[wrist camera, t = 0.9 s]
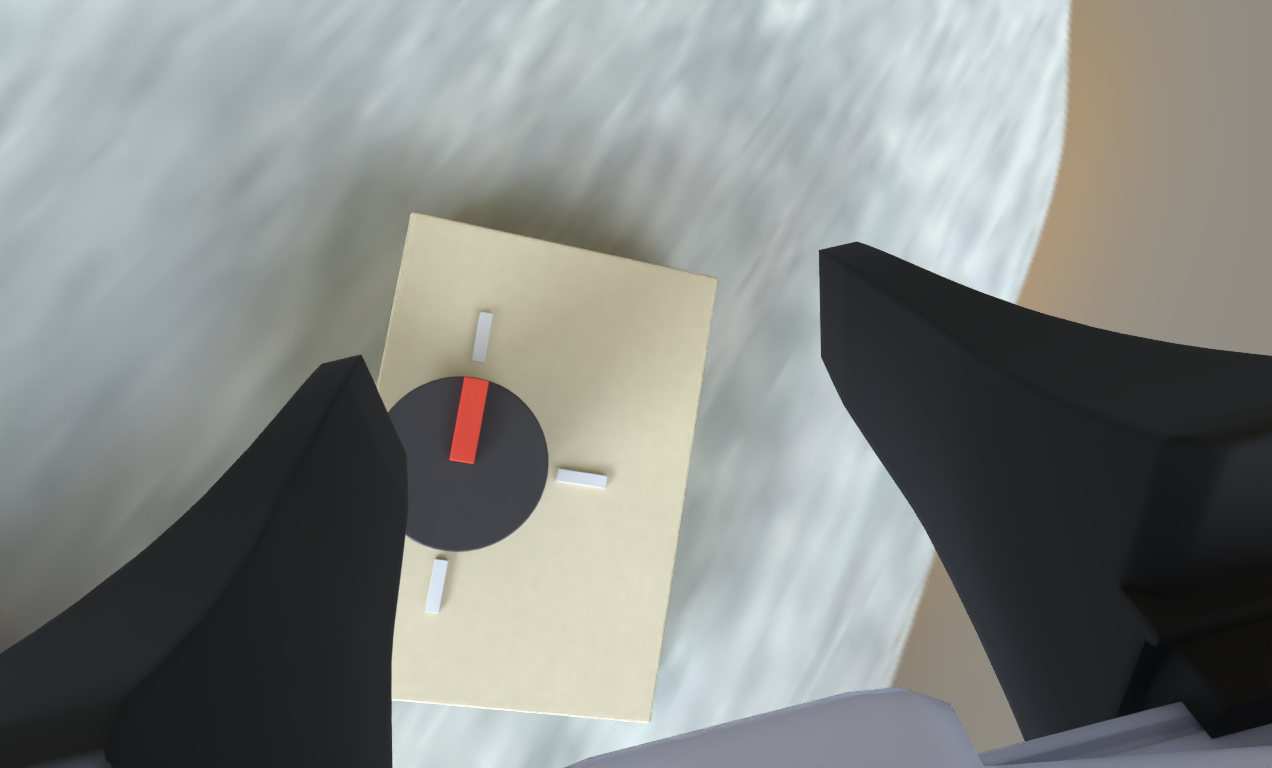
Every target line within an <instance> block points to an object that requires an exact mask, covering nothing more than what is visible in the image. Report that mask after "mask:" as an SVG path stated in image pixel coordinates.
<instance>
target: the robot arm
mask: <svg viewBox="0 0 1272 768" xmlns="http://www.w3.org/2000/svg"><path fill="white" fill-rule="evenodd" d="M819 276H820V325H821V357H822V360H823V362H824V364H825V366H826V369H827V371H828V373H829V375H830V377H831V380H832V382H833V384H834V386H835V388H836V390H837V392H838V394H839V396H840V398H841V400H842V402H843V404H844V406H845V408H846V409H847V411H848V412H849V414H850V416H851V417H852V419H853V420H854V422H855V423H856V425H857V426H858V428H859V429H860V431H861V432H862V434H863V435H864V437H865V438H866V440H867V441H868V443H869V444H870V446H871V447H872V449H873V450H874V452H875V453H876V455H877V456H878V458H879V459H880V461H881V462H882V464H883V465H884V467H885V468H886V470H887V471H888V473H889V474H890V476H891V477H892V479H893V480H894V481H895V483H896V484H897V486H898V487H899V489H900V490H901V492H902V493H903V495H904V496H905V498H906V499H907V501H908V502H909V504H910V505H911V507H912V508H913V510H914V512H915V513H916V515H917V517H918V518H919V520H920V522H921V523H922V525H923V527H924V528H925V530H926V532H927V534H928V536H929V538H930V540H931V542H932V544H933V545H934V547H935V549H936V551H937V553H938V555H939V557H940V559H941V561H942V563H943V565H944V567H945V569H946V571H947V573H948V574H949V576H950V578H951V580H952V582H953V584H954V587H955V589H956V591H957V593H958V595H959V597H960V599H961V601H962V603H963V605H964V607H965V609H966V611H967V613H968V615H969V617H970V619H971V621H972V623H973V625H974V628H975V630H976V632H977V634H978V636H979V638H980V640H981V642H982V645H983V647H984V649H985V651H986V653H987V656H988V658H989V660H990V662H991V665H992V667H993V669H994V671H995V673H996V676H997V678H998V680H999V682H1000V684H1001V686H1002V688H1003V691H1004V693H1005V695H1006V697H1007V700H1008V702H1009V704H1010V707H1011V709H1012V711H1013V714H1014V716H1015V719H1016V721H1017V723H1018V726H1019V728H1020V730H1021V733H1022V735H1023V738H1024V740H1025V742H1022V743H1018V744H1014V745H1010V746H1006V747H1003V748H998V749H995V750H991V751H987V752H983V753H979V754H977V752H976V750H975V749H974V747H973V745H972V743H971V741H970V739H969V737H968V736H967V734H966V732H965V730H964V728H963V726H962V725H961V723H960V721H959V719H958V717H957V715H956V713H955V711H954V710H953V708H952V706H951V704H949V703H947V702H943V701H940V700H938V699H935V698H932V697H929V696H926V695H923V694H920V693H917V692H914V691H911V690H908V689H904V688H901V687H895V688H885V689H875V690H865V691H855V692H847V693H843V694H839V695H835V696H831V697H827V698H823V699H819V700H815V701H811V702H807V703H803V704H799V705H795V706H791V707H787V708H783V709H780V710H776V711H772V712H768V713H764V714H760V715H756V716H752V717H748V718H744V719H740V720H736V721H732V722H728V723H724V724H720V725H716V726H712V727H708V728H704V729H700V730H697V731H693V732H689V733H685V734H681V735H677V736H673V737H669V738H665V739H661V740H657V741H653V742H649V743H645V744H641V745H637V746H633V747H629V748H625V749H621V750H617V751H613V752H610V753H606V754H602V755H598V756H594V757H590V758H587V759H585V760H582V761H580V762H577V763H575V764H572V765H570V766H568V767H565V768H1272V356H1267V355H1258V354H1249V353H1241V352H1233V351H1224V350H1216V349H1208V348H1201V347H1194V346H1188V345H1181V344H1175V343H1169V342H1163V341H1158V340H1153V339H1148V338H1142V337H1137V336H1131V335H1127V334H1120V333H1117V332H1112V331H1108V330H1103V329H1099V328H1095V327H1090V326H1087V325H1083V324H1079V323H1076V322H1072V321H1068V320H1065V319H1061V318H1057V317H1054V316H1050V315H1046V314H1043V313H1040V312H1036V311H1033V310H1030V309H1027V308H1024V307H1021V306H1018V305H1015V304H1013V303H1010V302H1007V301H1004V300H1001V299H998V298H995V297H993V296H990V295H987V294H984V293H982V292H979V291H977V290H974V289H971V288H969V287H966V286H964V285H961V284H959V283H956V282H954V281H951V280H949V279H947V278H944V277H942V276H939V275H937V274H935V273H932V272H930V271H928V270H925V269H923V268H921V267H918V266H916V265H914V264H912V263H909V262H907V261H905V260H902V259H900V258H898V257H895V256H893V255H891V254H888V253H886V252H884V251H881V250H879V249H876V248H874V247H871V246H869V245H866V244H863V243H860V242H853V243H849V244H844V245H840V246H835V247H831V248H827V249H822V250H819ZM407 517H408V476H407V454H406V452H405V449H404V447H403V445H402V443H401V441H400V438H399V436H398V434H397V432H396V430H395V427H394V425H393V423H392V421H391V418H390V416H389V414H388V412H387V410H386V407H385V405H384V403H383V401H382V399H381V396H380V394H379V392H378V390H377V388H376V385H375V383H374V381H373V379H372V377H371V374H370V372H369V370H368V368H367V366H366V363H365V361H364V359H363V357H362V355H358V356H354V357H349V358H345V359H341V360H336V361H332V362H327V363H323V364H321V365H320V366H319V367H318V368H317V369H316V370H315V371H314V372H313V373H312V374H311V376H310V377H309V378H308V379H307V380H306V381H305V382H304V383H303V385H302V386H301V387H300V388H299V389H298V391H297V392H296V393H295V394H294V395H293V396H292V398H291V399H290V400H289V401H288V402H287V404H286V405H285V406H284V407H283V408H282V410H281V411H280V412H279V413H278V414H277V415H276V417H275V418H274V419H273V420H272V421H271V422H270V424H269V425H268V426H267V427H266V428H265V429H264V431H263V432H262V433H261V434H260V435H259V436H258V438H257V439H256V440H255V441H254V442H253V443H252V445H251V446H250V447H249V448H248V449H247V450H246V451H245V452H244V453H243V454H242V455H241V456H240V458H239V459H238V460H237V461H236V462H235V463H234V464H233V465H232V466H231V467H230V468H229V469H228V470H227V471H226V472H225V473H224V475H223V476H222V477H221V478H220V479H219V480H218V481H217V482H216V483H215V484H214V485H213V486H212V487H211V488H210V489H209V490H208V491H207V493H206V494H205V495H204V496H203V497H202V498H201V499H200V500H198V501H197V502H196V503H195V504H194V505H193V506H192V507H191V508H190V509H189V510H188V511H187V512H186V513H185V514H184V515H183V516H182V517H181V518H180V519H179V520H177V521H176V522H175V523H174V524H173V525H172V526H171V527H169V528H168V529H167V530H166V531H165V532H164V533H163V534H162V535H160V536H159V537H158V538H157V539H156V540H155V541H154V542H153V543H151V544H150V545H149V546H148V547H147V548H146V549H144V550H143V551H142V552H141V553H140V554H138V555H137V556H136V557H135V558H133V559H132V560H131V561H129V562H128V563H127V564H125V565H124V566H123V567H122V568H120V569H119V570H118V571H116V572H115V573H114V574H113V575H111V576H110V577H109V578H107V579H106V580H105V581H104V582H102V583H101V584H100V585H98V586H97V587H96V588H94V589H93V590H92V591H91V592H89V593H88V594H87V595H85V596H84V597H83V598H82V599H80V600H79V601H78V602H76V603H75V604H73V605H72V606H71V607H69V608H68V609H66V610H65V611H63V612H62V613H61V614H59V615H58V616H56V617H55V618H53V619H52V620H50V621H49V622H48V623H46V624H45V625H43V626H42V627H40V628H39V629H37V630H36V631H34V632H33V633H31V634H30V635H28V636H27V637H25V638H24V639H22V640H21V641H19V642H18V643H16V644H15V645H13V646H12V647H10V648H8V649H7V650H5V651H4V652H2V653H1V654H0V768H392V720H391V716H392V650H393V636H394V627H395V618H396V610H397V602H398V594H399V586H400V577H401V569H402V561H403V553H404V544H405V535H406V526H407Z"/></svg>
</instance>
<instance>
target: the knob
mask: <svg viewBox="0 0 1272 768" xmlns="http://www.w3.org/2000/svg"><path fill="white" fill-rule="evenodd" d="M388 414H389V416H390V418H391V421H392V423H393V425H394V427H395V430H396V432H397V434H398V436H399V438H400V441H401V443H402V445H403V447H404V449H405V452H406V454H407V476H408V517H407V526H406V535H405V536H407V537H408V538H410V539H411V540H413V541H415V542H417V543H419V544H421V545H424V546H426V547H429V548H432V549H436V550H441V551H449V552H465V551H473V550H478V549H482V548H485V547H488V546H491V545H493V544H495V543H497V542H500V541H502V540H503V539H505V538H506V537H508V536H510V535H511V534H512V533H514V532H515V531H516V530H517V529H518V528H520V527H521V526H522V525H523V524H524V523H525V521H526V520H527V519H528V518H529V517H530V515H531V514H532V513H533V511H534V510H535V508H536V507H537V505H538V503H539V501H540V499H541V497H542V494H543V491H544V489H545V485H546V481H547V477H548V467H549V458H548V449H547V443H546V439H545V436H544V433H543V430H542V428H541V426H540V424H539V422H538V420H537V418H536V417H535V415H534V413H533V412H532V411H531V410H530V408H529V407H528V406H527V405H526V404H525V403H524V402H523V401H522V400H521V399H520V398H519V397H518V396H517V395H515V394H514V393H513V392H511V391H510V390H508V389H506V388H505V387H503V386H501V385H499V384H497V383H494V382H491V381H489V380H485V379H481V378H477V377H468V376H453V377H446V378H441V379H437V380H433V381H430V382H428V383H425V384H423V385H421V386H419V387H417V388H415V389H413V390H412V391H410V392H409V393H407V394H406V395H405V396H403V397H402V398H401V399H400V400H399V401H398V402H397V403H396V404H395V405H394V406H393V407H392V408H391V409H390V410H389V412H388Z"/></svg>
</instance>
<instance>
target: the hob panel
mask: <svg viewBox="0 0 1272 768" xmlns="http://www.w3.org/2000/svg"><path fill="white" fill-rule="evenodd" d="M716 288H717V278H715V277H711V276H706V275H702V274H697V273H693V272H688V271H683V270H679V269H674V268H670V267H665V266H661V265H656V264H651V263H647V262H642V261H638V260H633V259H628V258H624V257H619V256H615V255H610V254H606V253H601V252H596V251H592V250H587V249H583V248H578V247H573V246H569V245H564V244H560V243H555V242H551V241H546V240H541V239H537V238H532V237H528V236H523V235H518V234H514V233H509V232H505V231H500V230H496V229H491V228H486V227H482V226H477V225H473V224H468V223H463V222H459V221H454V220H450V219H445V218H441V217H436V216H431V215H427V214H422V213H418V212H412V213H411V214H410V219H409V225H408V230H407V235H406V240H405V245H404V250H403V255H402V260H401V266H400V271H399V276H398V281H397V286H396V291H395V296H394V301H393V306H392V312H391V317H390V322H389V327H388V332H387V337H386V342H385V347H384V353H383V358H382V363H381V368H380V373H379V378H378V383H377V390H378V392H379V394H380V396H381V399H382V401H383V403H384V405H385V407H386V410H387V412H389V410H390V409H391V408H392V407H393V406H394V405H395V404H396V403H397V402H398V401H399V400H400V399H401V398H402V397H403V396H405V395H406V394H407V393H409V392H410V391H412V390H413V389H415V388H417V387H419V386H421V385H423V384H425V383H428V382H430V381H433V380H437V379H441V378H446V377H453V376H468V377H477V378H481V379H485V380H489V381H491V382H494V383H497V384H499V385H501V386H503V387H505V388H506V389H508V390H510V391H511V392H513V393H514V394H515V395H517V396H518V397H519V398H520V399H521V400H522V401H523V402H524V403H525V404H526V405H527V406H528V407H529V408H530V410H531V411H532V412H533V413H534V415H535V417H536V418H537V420H538V422H539V424H540V426H541V428H542V430H543V433H544V436H545V439H546V443H547V449H548V458H549V467H548V477H547V481H546V485H545V489H544V491H543V494H542V497H541V499H540V501H539V503H538V505H537V507H536V508H535V510H534V511H533V513H532V514H531V515H530V517H529V518H528V519H527V520H526V521H525V523H524V524H523V525H522V526H521V527H520V528H518V529H517V530H516V531H515V532H514V533H512V534H511V535H510V536H508V537H506V538H505V539H503V540H502V541H500V542H497V543H495V544H493V545H491V546H488V547H485V548H482V549H478V550H473V551H465V552H449V551H441V550H436V549H432V548H429V547H426V546H424V545H421V544H419V543H417V542H415V541H413V540H411V539H410V538H408V537H407V536H405V544H404V553H403V561H402V569H401V577H400V586H399V594H398V602H397V610H396V618H395V627H394V636H393V650H392V700H396V701H407V702H418V703H429V704H440V705H451V706H462V707H473V708H484V709H496V710H507V711H518V712H529V713H540V714H551V715H562V716H573V717H584V718H595V719H606V720H617V721H628V722H639V723H650V721H651V715H652V708H653V702H654V695H655V689H656V682H657V676H658V669H659V662H660V656H661V649H662V643H663V636H664V630H665V623H666V616H667V610H668V603H669V597H670V590H671V584H672V577H673V570H674V564H675V557H676V551H677V544H678V538H679V531H680V524H681V518H682V511H683V505H684V498H685V492H686V485H687V478H688V472H689V465H690V459H691V452H692V445H693V439H694V432H695V426H696V419H697V413H698V406H699V399H700V393H701V386H702V380H703V373H704V367H705V360H706V353H707V347H708V340H709V334H710V327H711V321H712V314H713V307H714V301H715V294H716Z"/></svg>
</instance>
